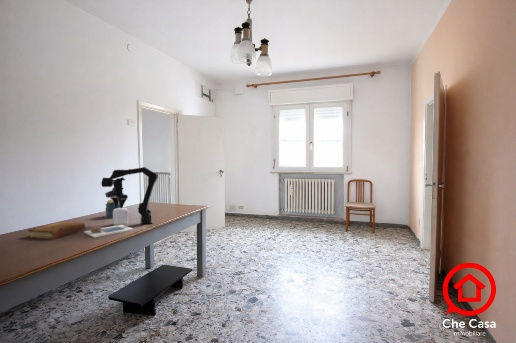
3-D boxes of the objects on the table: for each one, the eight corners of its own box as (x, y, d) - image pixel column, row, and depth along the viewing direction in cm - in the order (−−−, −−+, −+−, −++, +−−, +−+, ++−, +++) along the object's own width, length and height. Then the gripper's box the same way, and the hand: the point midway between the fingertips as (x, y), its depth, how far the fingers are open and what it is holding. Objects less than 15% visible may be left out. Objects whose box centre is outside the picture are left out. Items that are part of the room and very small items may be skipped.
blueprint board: (121, 226, 194) (121, 220, 193) (133, 229, 182) (132, 224, 182) (84, 232, 175) (84, 226, 175) (93, 237, 164) (93, 231, 164)
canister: (126, 216, 228) (126, 196, 227) (115, 219, 215) (114, 198, 215) (113, 216, 231) (113, 196, 230) (101, 219, 218) (101, 197, 217)
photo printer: (127, 222, 204) (127, 206, 204) (128, 223, 201) (128, 207, 200) (112, 224, 199) (112, 208, 198) (113, 225, 195) (112, 209, 195)
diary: (53, 240, 160) (53, 230, 160) (28, 239, 163) (27, 229, 163) (84, 230, 183) (84, 222, 183) (61, 229, 186) (61, 221, 186)
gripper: (101, 186, 196) (101, 207, 196) (111, 188, 184) (112, 210, 184) (117, 185, 204) (117, 205, 205) (127, 187, 192) (128, 208, 193)
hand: (118, 207), depth 196 cm, fingers open, 9 cm apart
